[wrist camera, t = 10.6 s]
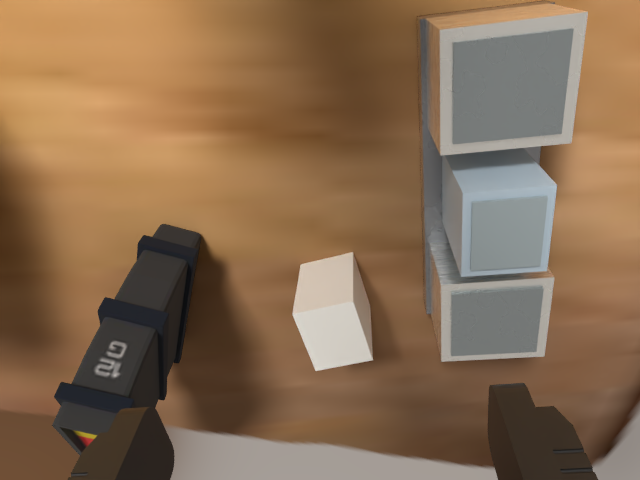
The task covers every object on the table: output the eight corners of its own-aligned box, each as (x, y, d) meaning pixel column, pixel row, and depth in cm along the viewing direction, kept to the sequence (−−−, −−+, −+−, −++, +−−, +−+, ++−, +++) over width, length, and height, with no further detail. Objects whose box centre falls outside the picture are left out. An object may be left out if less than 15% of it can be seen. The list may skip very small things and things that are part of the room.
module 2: (442, 149, 30) (463, 194, 25) (518, 142, 30) (558, 186, 24) (442, 222, 33) (461, 279, 27) (512, 216, 32) (548, 273, 27)
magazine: (209, 204, 33) (119, 437, 24) (203, 294, 44) (140, 478, 35) (152, 189, 33) (42, 420, 24) (161, 283, 43) (86, 466, 35)
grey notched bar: (416, 16, 28) (433, 31, 22) (545, 0, 28) (596, 11, 22) (423, 301, 38) (437, 364, 32) (519, 295, 37) (550, 358, 31)
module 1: (300, 264, 37) (292, 314, 32) (353, 251, 36) (353, 301, 31) (320, 316, 39) (315, 371, 34) (370, 305, 38) (372, 360, 33)
